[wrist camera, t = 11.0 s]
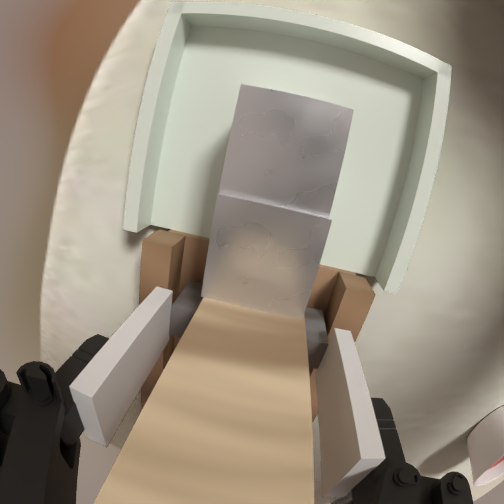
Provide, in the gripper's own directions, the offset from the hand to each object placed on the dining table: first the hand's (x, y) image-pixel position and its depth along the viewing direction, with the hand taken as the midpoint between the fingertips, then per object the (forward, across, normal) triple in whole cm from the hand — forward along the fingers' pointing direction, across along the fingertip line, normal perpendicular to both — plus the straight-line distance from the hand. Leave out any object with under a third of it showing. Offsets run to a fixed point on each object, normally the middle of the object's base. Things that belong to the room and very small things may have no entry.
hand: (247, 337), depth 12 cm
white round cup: (+5, +30, -12) cm, 32 cm away
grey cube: (+4, 0, +8) cm, 9 cm away
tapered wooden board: (+3, 0, 0) cm, 3 cm away
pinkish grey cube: (+3, 0, +4) cm, 5 cm away
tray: (+4, 0, +9) cm, 10 cm away
